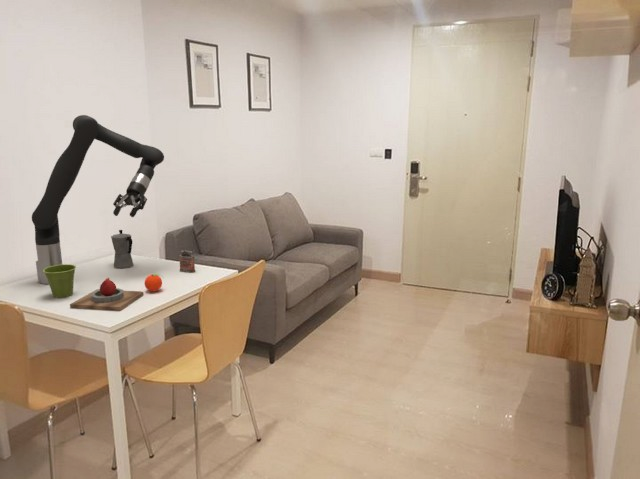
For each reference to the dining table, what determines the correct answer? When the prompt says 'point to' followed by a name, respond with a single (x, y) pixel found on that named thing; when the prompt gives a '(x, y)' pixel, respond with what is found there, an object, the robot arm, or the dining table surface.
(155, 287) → the clementine
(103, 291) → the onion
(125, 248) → the coffeepot
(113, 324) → the dining table surface
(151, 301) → the dining table surface
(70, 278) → the plant pot
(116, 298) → the ring
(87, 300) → the board
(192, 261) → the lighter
